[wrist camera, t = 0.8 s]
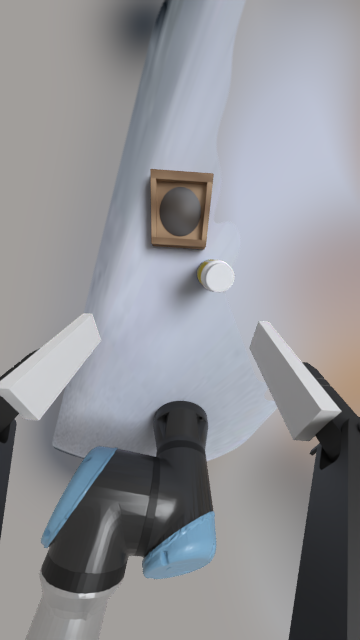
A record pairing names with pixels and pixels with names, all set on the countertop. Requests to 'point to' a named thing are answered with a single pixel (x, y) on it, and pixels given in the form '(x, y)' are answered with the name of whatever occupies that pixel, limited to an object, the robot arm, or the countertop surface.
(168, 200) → the dock board
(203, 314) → the countertop surface
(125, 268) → the countertop surface
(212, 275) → the supplement bottle
